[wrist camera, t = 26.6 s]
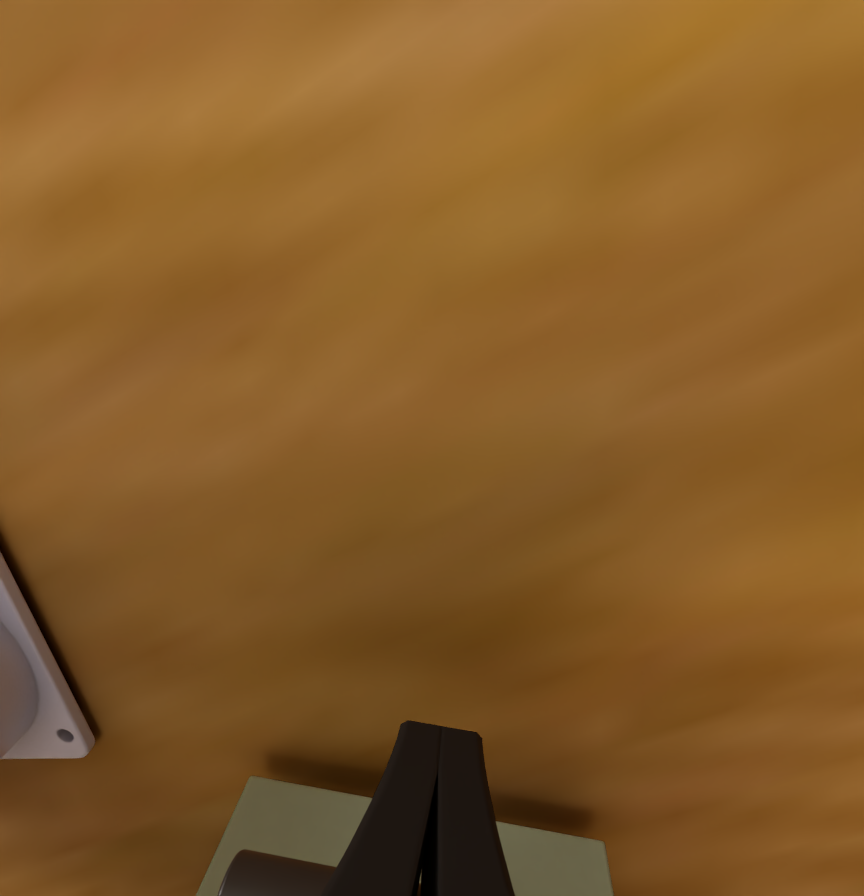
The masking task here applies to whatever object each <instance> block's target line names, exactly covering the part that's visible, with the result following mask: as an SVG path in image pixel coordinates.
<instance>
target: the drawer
mask: <svg viewBox="0 0 864 896" xmlns="http://www.w3.org/2000/svg"><path fill="white" fill-rule="evenodd" d="M371 800H372V798H370V797H365V796H359V795H354V794H348V793H343V792H338V791H332V790H327V789H322V788H316V787H311V786H306V785H300V784H295V783H290V782H284V781H279V780H274V779H268V778H263V777H258V776H250V777H249V779H248V781H247V783H246V786H245V788H244V790H243V792H242V794H241V797H240V799H239V801H238V803H237V805H236V808H235V810H234V812H233V814H232V817H231V819H230V821H229V823H228V825H227V828H226V830H225V832H224V834H223V836H222V839H221V841H220V843H219V845H218V848H217V850H216V852H215V854H214V856H213V859H212V861H211V863H210V865H209V867H208V870H207V872H206V874H205V876H204V879H203V881H202V883H201V885H200V887H199V890H198V892H197V894H196V896H320V895H321V893H322V892H323V890H324V888H325V886H326V885H327V883H328V881H329V879H330V878H331V876H332V874H333V873H334V871H335V869H336V867H337V866H338V864H339V862H340V860H341V859H342V857H343V855H344V853H345V851H346V850H347V848H348V846H349V844H350V842H351V840H352V838H353V836H354V834H355V832H356V830H357V828H358V826H359V824H360V822H361V820H362V818H363V816H364V814H365V812H366V810H367V808H368V806H369V804H370V802H371ZM496 825H497V829H498V833H499V837H500V841H501V845H502V849H503V853H504V856H505V860H506V864H507V868H508V871H509V875H510V879H511V883H512V886H513V890H514V893H515V896H614V893H613V887H612V881H611V875H610V870H609V864H608V858H607V853H606V847H605V843H604V842H603V841H600V840H594V839H589V838H584V837H578V836H573V835H568V834H562V833H557V832H552V831H546V830H541V829H536V828H530V827H525V826H520V825H514V824H509V823H503V822H498V821H496ZM421 872H422V871H421ZM420 891H421V876H420V881H419V886H418V891H417V896H420Z"/></svg>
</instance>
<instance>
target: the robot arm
mask: <svg viewBox="0 0 864 896" xmlns="http://www.w3.org/2000/svg"><path fill="white" fill-rule="evenodd" d="M94 745H95V739H94V736H93V734H92V732H91V730H90V728H89V726H88V724H87V722H86V720H85V718H84V716H83V714H82V712H81V710H80V708H79V706H78V704H77V702H76V700H75V698H74V696H73V694H72V692H71V690H70V688H69V686H68V684H67V682H66V680H65V678H64V676H63V674H62V672H61V670H60V668H59V667H58V665H57V663H56V661H55V659H54V657H53V655H52V653H51V651H50V649H49V647H48V645H47V643H46V641H45V639H44V637H43V635H42V633H41V631H40V629H39V627H38V625H37V623H36V621H35V619H34V617H33V615H32V613H31V611H30V609H29V607H28V605H27V603H26V601H25V599H24V597H23V595H22V593H21V591H20V589H19V587H18V586H17V584H16V582H15V580H14V578H13V576H12V574H11V572H10V570H9V568H8V566H7V564H6V562H5V560H4V558H3V556H2V554H1V552H0V759H50V758H82V757H85V756H86V755H87V754H88V753H89V752H90V750H91V749H92V748H93V747H94ZM421 871H422V872H421ZM420 876H421V891H420V896H515V893H514V890H513V886H512V883H511V879H510V875H509V871H508V868H507V864H506V860H505V856H504V853H503V849H502V845H501V841H500V837H499V833H498V829H497V825H496V821H495V816H494V811H493V806H492V802H491V797H490V792H489V787H488V781H487V775H486V769H485V762H484V754H483V745H482V738H481V737H480V735H479V734H478V733H477V732H472V731H466V730H460V729H455V728H449V727H443V726H437V725H432V724H426V723H420V722H415V721H409V720H408V721H406V722H404V723H402V724H401V726H400V730H399V733H398V737H397V740H396V743H395V746H394V749H393V751H392V754H391V757H390V759H389V762H388V764H387V767H386V769H385V772H384V774H383V776H382V778H381V781H380V783H379V785H378V787H377V790H376V792H375V794H374V796H373V798H372V800H371V802H370V804H369V806H368V808H367V810H366V812H365V814H364V816H363V818H362V820H361V822H360V824H359V826H358V828H357V830H356V832H355V834H354V836H353V838H352V840H351V842H350V844H349V846H348V848H347V850H346V851H345V853H344V855H343V857H342V859H341V860H340V862H339V864H338V866H337V867H336V869H335V871H334V873H333V874H332V876H331V878H330V879H329V881H328V883H327V885H326V886H325V888H324V890H323V892H322V893H321V895H320V896H417V891H418V886H419V881H420Z"/></svg>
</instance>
